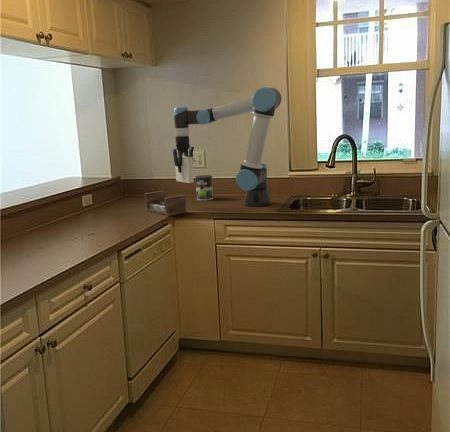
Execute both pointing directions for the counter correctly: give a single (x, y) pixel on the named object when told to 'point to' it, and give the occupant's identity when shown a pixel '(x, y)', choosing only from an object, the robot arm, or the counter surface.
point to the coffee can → (204, 187)
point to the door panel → (186, 170)
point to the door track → (164, 203)
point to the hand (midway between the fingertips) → (184, 177)
